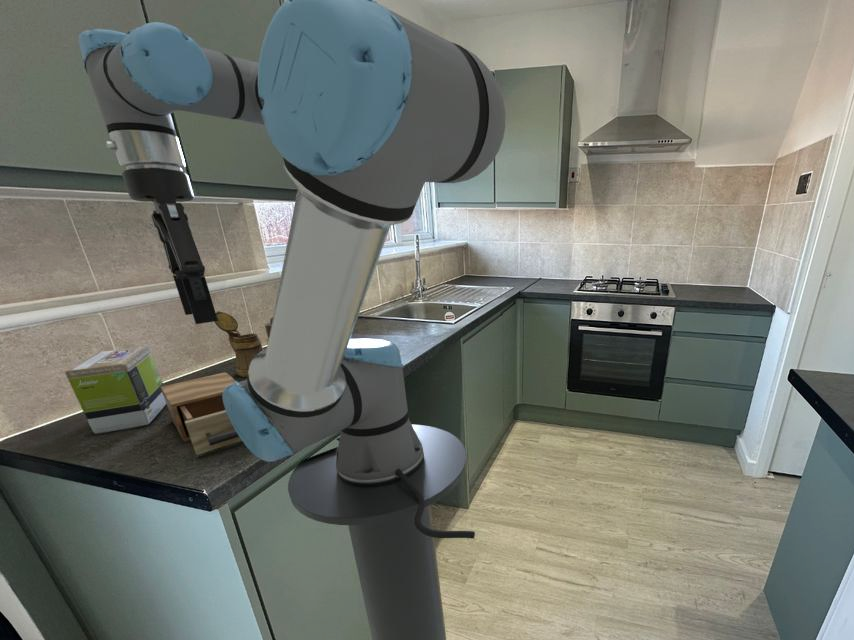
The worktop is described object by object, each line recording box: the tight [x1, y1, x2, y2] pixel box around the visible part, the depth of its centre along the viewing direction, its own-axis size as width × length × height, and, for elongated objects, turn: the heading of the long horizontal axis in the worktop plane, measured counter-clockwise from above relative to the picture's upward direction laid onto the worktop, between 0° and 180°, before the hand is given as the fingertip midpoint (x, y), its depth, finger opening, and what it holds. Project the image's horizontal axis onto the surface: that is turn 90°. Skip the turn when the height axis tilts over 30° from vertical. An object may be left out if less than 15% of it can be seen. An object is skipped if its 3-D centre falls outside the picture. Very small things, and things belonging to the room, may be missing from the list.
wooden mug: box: [214, 310, 264, 378], centre depth 122 cm, size 9×14×18 cm, turn 70°
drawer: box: [178, 395, 243, 456], centre depth 83 cm, size 18×11×7 cm, turn 45°
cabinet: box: [161, 371, 237, 443], centre depth 91 cm, size 14×12×8 cm
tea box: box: [64, 345, 167, 435], centre depth 94 cm, size 15×10×15 cm
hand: (200, 317), depth 67 cm, fingers open, 13 cm apart
